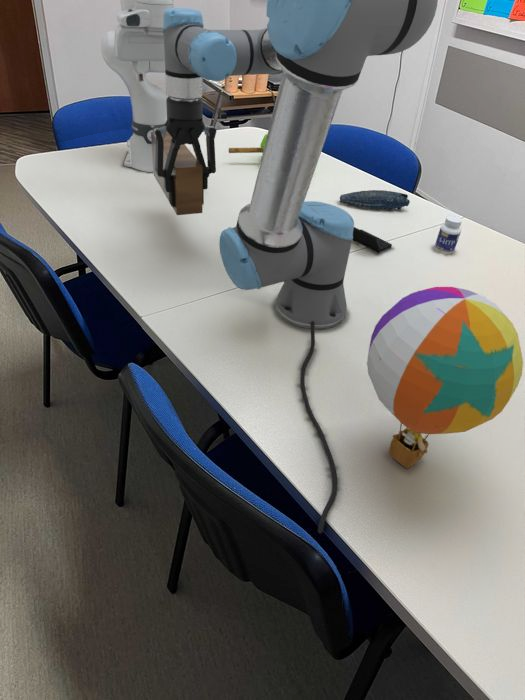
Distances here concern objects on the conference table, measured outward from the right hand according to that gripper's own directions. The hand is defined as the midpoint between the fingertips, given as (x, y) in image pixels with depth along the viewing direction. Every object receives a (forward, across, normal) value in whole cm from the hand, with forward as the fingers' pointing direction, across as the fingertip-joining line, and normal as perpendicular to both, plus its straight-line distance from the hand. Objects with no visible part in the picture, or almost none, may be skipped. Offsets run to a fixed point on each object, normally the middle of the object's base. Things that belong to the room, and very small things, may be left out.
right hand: (186, 203), depth 122 cm
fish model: (+12, -62, -14) cm, 65 cm away
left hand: (-20, -1, -31) cm, 37 cm away
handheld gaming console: (+12, -47, +8) cm, 49 cm away
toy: (+13, -16, +74) cm, 77 cm away
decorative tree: (+12, -44, -54) cm, 70 cm away
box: (+1, 0, -10) cm, 10 cm away
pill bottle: (+12, -67, +16) cm, 70 cm away
